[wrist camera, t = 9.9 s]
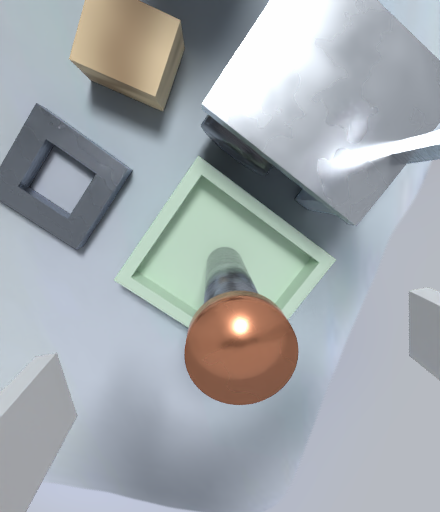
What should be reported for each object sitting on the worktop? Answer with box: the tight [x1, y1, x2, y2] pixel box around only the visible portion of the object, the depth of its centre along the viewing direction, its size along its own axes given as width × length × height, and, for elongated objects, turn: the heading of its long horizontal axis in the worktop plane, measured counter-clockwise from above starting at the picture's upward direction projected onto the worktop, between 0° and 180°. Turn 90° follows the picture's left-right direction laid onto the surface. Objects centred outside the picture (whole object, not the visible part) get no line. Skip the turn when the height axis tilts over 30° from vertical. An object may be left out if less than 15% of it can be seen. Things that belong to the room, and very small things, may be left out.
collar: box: [0, 103, 132, 249], centre depth 24 cm, size 8×8×2 cm
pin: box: [185, 247, 298, 405], centre depth 19 cm, size 4×4×15 cm
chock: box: [69, 0, 185, 111], centre depth 21 cm, size 6×5×4 cm
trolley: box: [201, 0, 440, 226], centre depth 16 cm, size 12×10×18 cm
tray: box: [114, 156, 336, 328], centre depth 26 cm, size 14×12×3 cm
